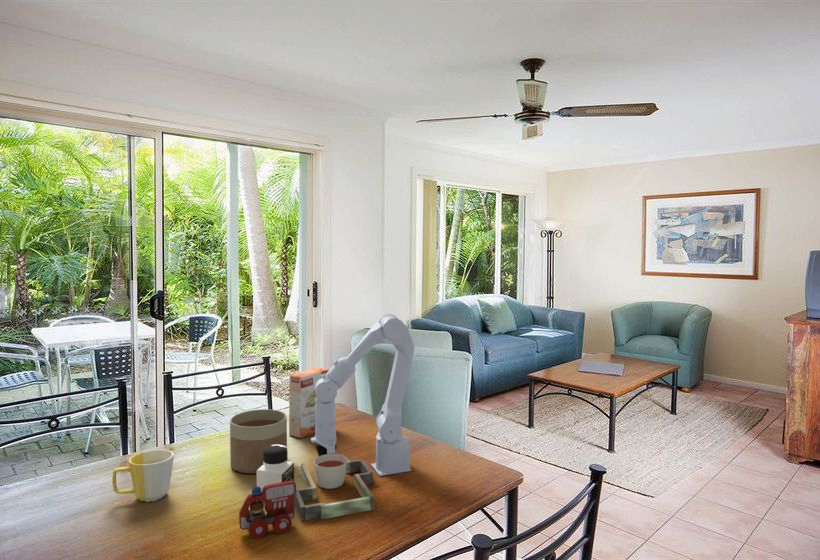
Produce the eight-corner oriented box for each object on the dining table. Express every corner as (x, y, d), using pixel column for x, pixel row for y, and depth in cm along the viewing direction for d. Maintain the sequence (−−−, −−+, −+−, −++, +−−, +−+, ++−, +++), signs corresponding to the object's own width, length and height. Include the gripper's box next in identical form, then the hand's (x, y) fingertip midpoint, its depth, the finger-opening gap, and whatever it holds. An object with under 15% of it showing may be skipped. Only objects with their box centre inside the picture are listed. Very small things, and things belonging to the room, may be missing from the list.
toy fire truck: (238, 526, 119) (237, 482, 118) (293, 516, 124) (292, 473, 123) (240, 542, 113) (240, 495, 112) (298, 531, 117) (298, 486, 117)
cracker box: (301, 439, 172) (301, 377, 171) (288, 435, 176) (288, 374, 174) (330, 427, 184) (330, 368, 183) (317, 424, 187) (317, 366, 186)
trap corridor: (359, 465, 153) (359, 455, 153) (389, 506, 129) (389, 494, 129) (284, 476, 145) (284, 466, 144) (301, 523, 121) (301, 510, 120)
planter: (266, 479, 143) (266, 429, 142) (218, 470, 148) (217, 423, 147) (297, 457, 158) (296, 412, 157) (252, 450, 163) (252, 406, 162)
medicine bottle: (282, 500, 131) (282, 453, 131) (256, 497, 133) (255, 451, 132) (294, 487, 138) (294, 443, 138) (269, 484, 140) (269, 441, 139)
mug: (178, 485, 139) (177, 447, 138) (170, 504, 129) (169, 462, 128) (121, 491, 135) (120, 451, 135) (108, 510, 126) (107, 468, 125)
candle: (348, 490, 137) (348, 466, 137) (313, 492, 136) (313, 468, 135) (346, 475, 146) (346, 452, 146) (314, 477, 145) (314, 454, 144)
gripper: (306, 415, 151) (306, 461, 152) (316, 432, 138) (316, 482, 139) (330, 412, 154) (330, 458, 155) (342, 429, 140) (342, 478, 141)
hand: (325, 469), depth 147 cm, fingers closed
